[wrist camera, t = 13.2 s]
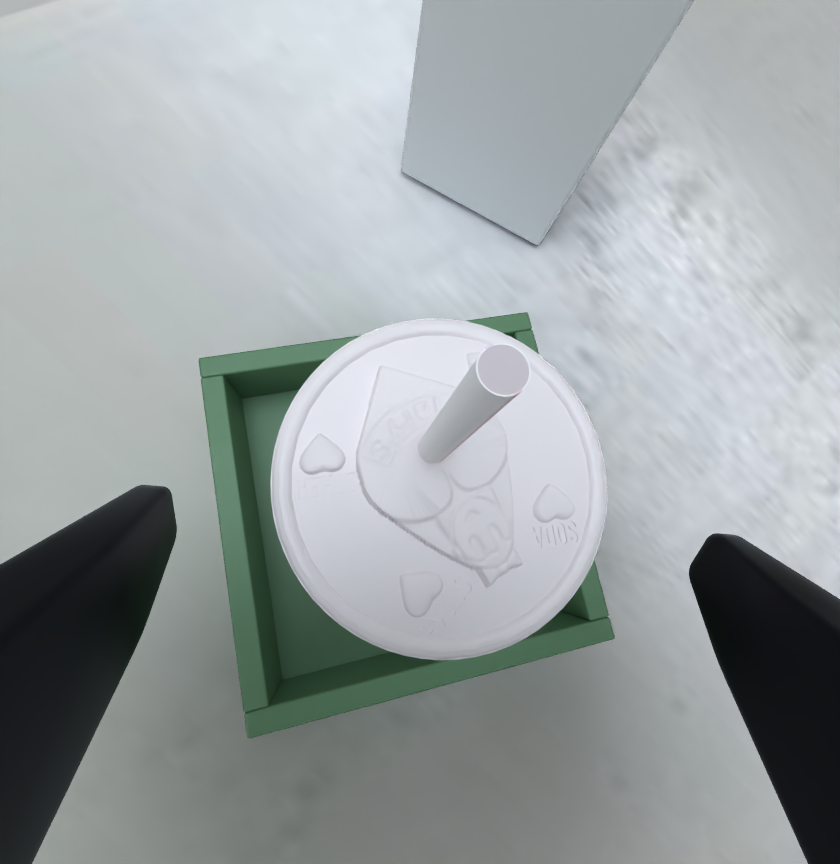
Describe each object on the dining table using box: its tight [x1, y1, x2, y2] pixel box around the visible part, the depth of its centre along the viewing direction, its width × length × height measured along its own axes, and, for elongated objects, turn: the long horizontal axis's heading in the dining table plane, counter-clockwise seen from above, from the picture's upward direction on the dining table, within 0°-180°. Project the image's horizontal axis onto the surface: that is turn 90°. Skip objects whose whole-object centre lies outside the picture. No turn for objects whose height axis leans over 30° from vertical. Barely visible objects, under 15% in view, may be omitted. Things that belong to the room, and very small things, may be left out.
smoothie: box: [270, 318, 607, 660], centre depth 11 cm, size 6×6×14 cm
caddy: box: [199, 312, 614, 738], centre depth 17 cm, size 11×11×3 cm
